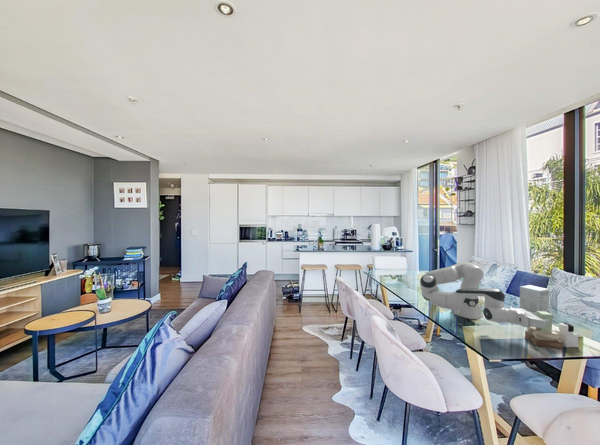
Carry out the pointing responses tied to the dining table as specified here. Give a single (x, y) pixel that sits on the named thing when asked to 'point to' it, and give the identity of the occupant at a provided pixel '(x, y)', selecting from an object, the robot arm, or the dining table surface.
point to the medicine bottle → (567, 335)
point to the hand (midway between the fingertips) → (543, 318)
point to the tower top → (543, 334)
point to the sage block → (544, 316)
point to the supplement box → (534, 298)
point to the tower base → (544, 342)
